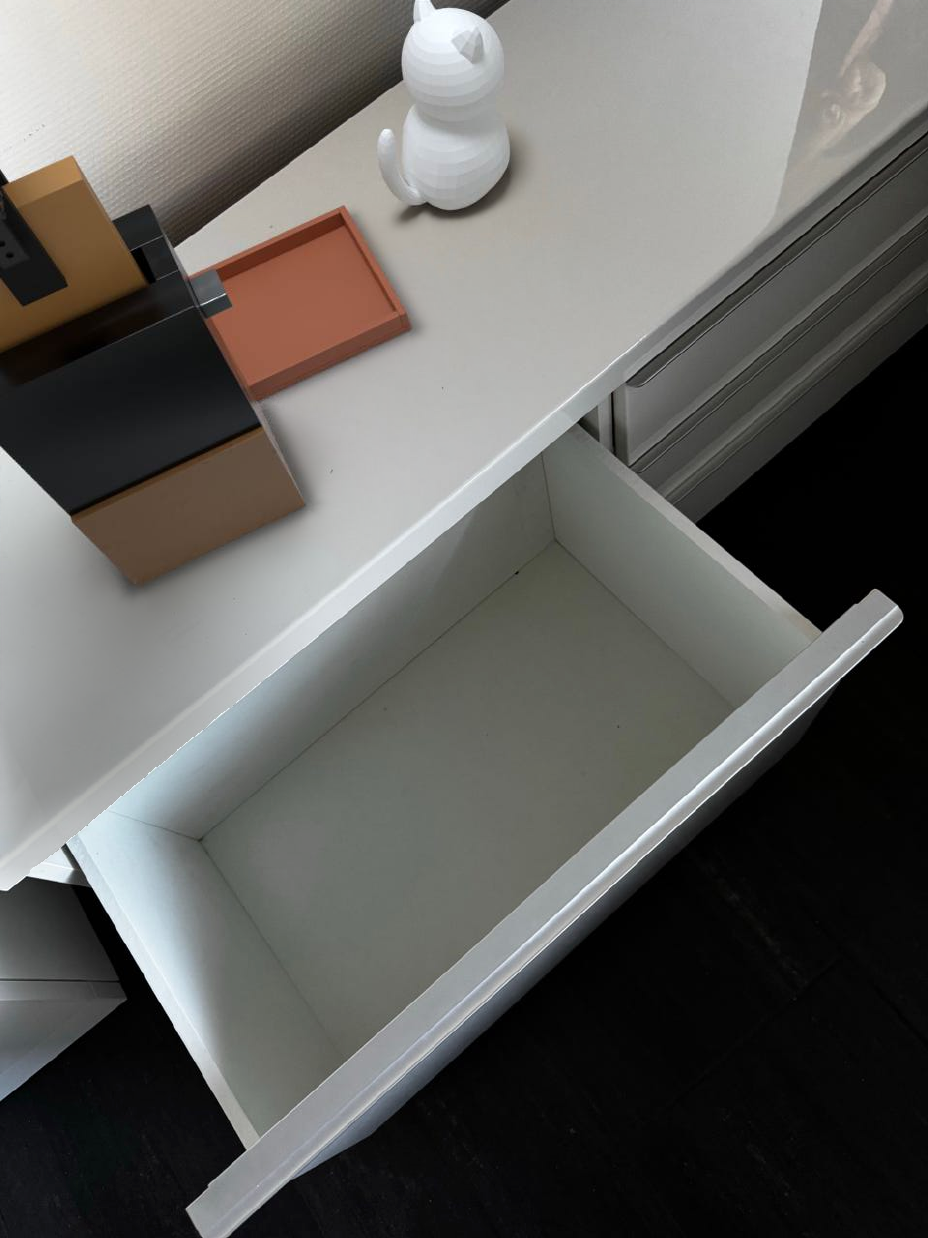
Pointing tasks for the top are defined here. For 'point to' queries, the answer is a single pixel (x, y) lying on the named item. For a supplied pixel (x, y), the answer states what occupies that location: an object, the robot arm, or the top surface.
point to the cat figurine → (448, 111)
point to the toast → (67, 252)
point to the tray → (305, 303)
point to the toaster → (146, 419)
